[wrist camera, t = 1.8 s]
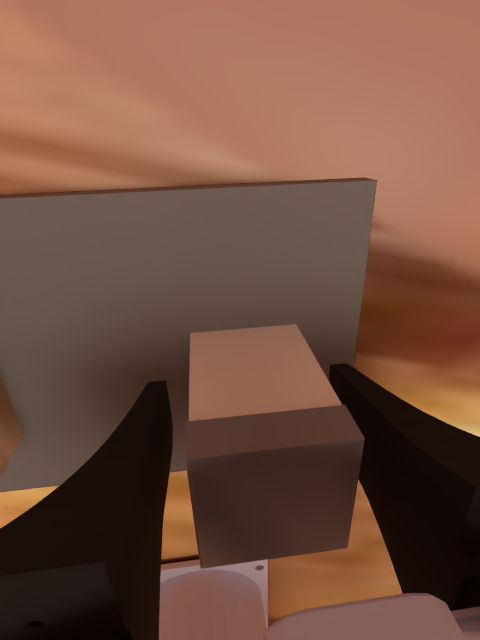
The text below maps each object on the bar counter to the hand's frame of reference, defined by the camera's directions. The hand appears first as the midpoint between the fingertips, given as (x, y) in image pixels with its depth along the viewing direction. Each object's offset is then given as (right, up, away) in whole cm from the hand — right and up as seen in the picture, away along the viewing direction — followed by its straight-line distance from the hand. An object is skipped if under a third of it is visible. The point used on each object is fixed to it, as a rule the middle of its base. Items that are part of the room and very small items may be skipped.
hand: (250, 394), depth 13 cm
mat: (-7, +1, +1) cm, 7 cm away
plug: (0, +1, +1) cm, 1 cm away
